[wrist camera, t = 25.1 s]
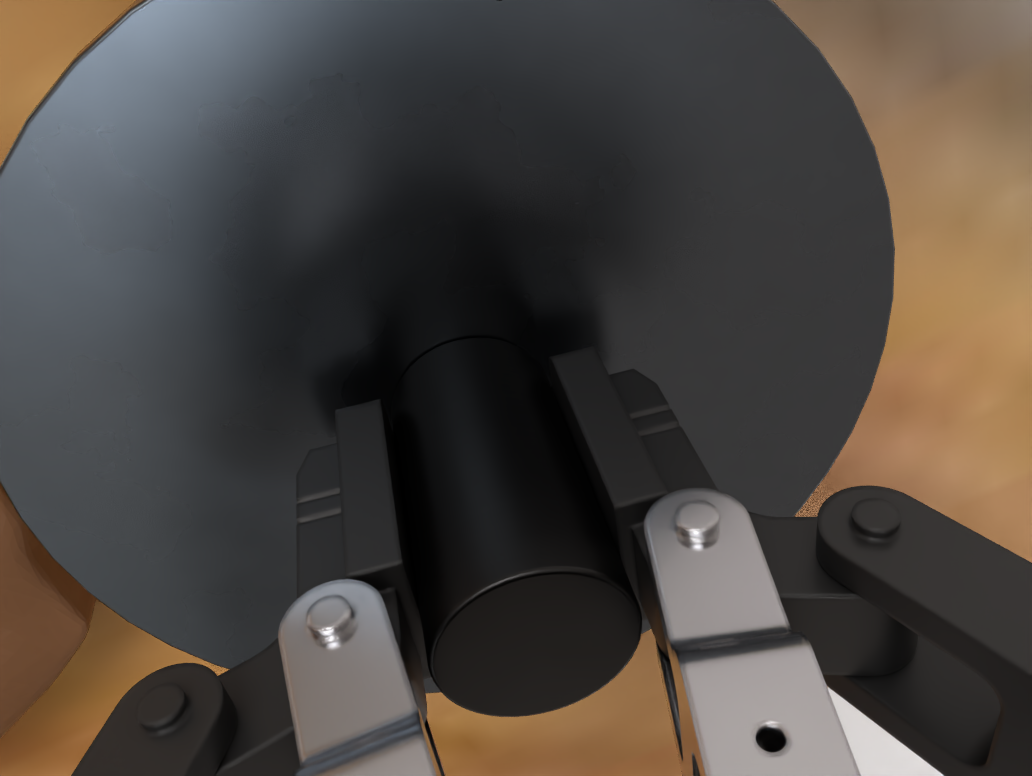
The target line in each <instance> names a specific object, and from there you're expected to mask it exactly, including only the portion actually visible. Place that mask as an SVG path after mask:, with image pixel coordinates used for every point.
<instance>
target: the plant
mask: <svg viewBox="0 0 1032 776" xmlns="http://www.w3.org/2000/svg"><path fill="white" fill-rule="evenodd" d="M95 601H96V598H95V597H94V596H92V595H91V594H90V593H88V592H87V591H86V590H85V589H84V588H83V587H82V586H81V585H80V584H79V583H78V582H77V581H76V580H75V579H74V578H73V577H72V576H70V575H69V574H68V573H67V572H66V571H65V570H64V569H63V568H62V567H61V566H60V565H59V564H58V563H57V562H56V561H55V560H54V559H53V558H52V557H51V556H50V555H49V554H48V552H47V551H46V550H45V548H44V547H43V546H42V545H41V543H40V542H39V541H38V540H37V538H36V537H35V536H34V535H33V533H32V532H31V531H30V529H29V528H28V527H27V526H26V524H25V523H24V522H23V521H22V519H21V518H20V517H19V515H18V513H17V511H16V510H15V508H14V506H13V504H12V503H11V501H10V499H9V497H8V496H7V494H6V492H5V490H4V489H3V487H2V485H1V483H0V738H1V737H2V736H3V735H4V734H5V733H6V732H7V731H8V730H9V729H10V728H11V727H12V726H13V725H14V724H15V723H16V722H17V721H18V720H19V719H20V718H21V717H22V715H23V714H24V713H25V712H26V711H27V710H28V709H29V708H30V707H31V706H32V705H33V704H34V703H35V702H36V701H37V700H38V699H39V698H40V697H41V696H42V695H43V694H44V693H45V691H46V690H47V689H48V688H49V687H50V686H51V684H52V683H53V682H54V681H55V680H56V678H57V677H58V676H59V675H60V673H61V672H62V671H63V669H64V668H65V666H66V665H67V663H68V662H69V661H70V659H71V658H72V656H73V655H74V653H75V652H76V651H77V649H78V648H79V647H80V645H81V643H82V642H83V640H84V639H85V637H86V635H87V632H88V630H89V626H90V622H91V618H92V613H93V609H94V605H95Z"/></svg>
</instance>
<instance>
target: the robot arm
mask: <svg viewBox="0 0 1032 776" xmlns="http://www.w3.org/2000/svg"><path fill="white" fill-rule="evenodd" d="M549 369H550V375H551V381H552V387H553V393H554V396H555V399H556V401H557V404H558V406H559V409H560V411H561V414H562V416H563V419H564V421H565V423H566V426H567V428H568V431H569V433H570V436H571V438H572V441H573V443H574V446H575V448H576V451H577V453H578V456H579V458H580V460H581V463H582V465H583V468H584V470H585V473H586V475H587V478H588V480H589V483H590V485H591V488H592V490H593V492H594V495H595V497H596V500H597V502H598V505H599V507H600V510H601V512H602V515H603V517H604V520H605V522H606V525H607V527H608V529H609V532H610V534H611V537H612V539H613V542H614V544H615V547H616V549H617V552H618V554H619V557H620V559H621V561H622V564H623V566H624V569H625V571H626V574H627V576H628V579H629V581H630V584H631V586H632V589H633V591H634V593H635V596H636V598H637V601H638V603H639V606H640V609H641V614H642V621H643V620H646V619H648V622H649V624H650V627H651V629H652V631H653V634H654V636H655V639H656V647H657V657H658V664H659V668H660V673H661V678H662V683H663V687H664V692H665V697H666V701H667V706H668V711H669V715H670V720H671V725H672V729H673V734H674V739H675V744H676V748H677V753H678V758H679V762H680V767H681V772H682V776H861V774H860V772H859V769H858V767H857V764H856V761H855V759H854V756H853V753H852V751H851V748H850V746H849V743H848V740H847V738H846V735H845V732H844V730H843V727H842V725H841V722H840V719H839V717H838V714H837V712H836V709H835V706H834V704H833V701H832V698H831V696H830V693H829V691H828V688H827V686H828V687H829V688H830V689H831V690H833V691H834V692H835V693H837V694H838V695H839V696H840V697H842V698H843V699H844V700H846V701H847V702H848V703H850V704H851V705H852V706H854V707H855V708H856V709H858V710H859V711H860V712H861V713H863V714H864V715H865V716H867V717H868V718H869V719H871V720H872V721H873V722H875V723H876V724H877V725H878V726H880V727H881V728H882V729H884V730H885V731H886V732H888V733H889V734H890V735H892V736H893V737H894V738H896V739H897V740H898V741H899V742H901V743H902V744H903V745H905V746H906V747H907V748H909V749H910V750H911V751H913V752H914V753H915V754H916V755H918V756H919V757H920V758H922V759H923V760H924V761H926V762H927V763H928V764H930V765H931V766H932V767H933V768H935V769H936V770H937V771H939V772H940V773H941V774H943V775H944V776H1032V563H1031V562H1029V561H1027V560H1026V559H1024V558H1022V557H1020V556H1018V555H1016V554H1015V553H1013V552H1011V551H1009V550H1007V549H1005V548H1004V547H1002V546H1000V545H998V544H996V543H994V542H993V541H991V540H989V539H987V538H985V537H983V536H982V535H980V534H978V533H976V532H974V531H972V530H971V529H969V528H967V527H965V526H963V525H962V524H960V523H958V522H956V521H954V520H952V519H951V518H949V517H947V516H945V515H943V514H941V513H940V512H938V511H936V510H934V509H932V508H930V507H929V506H927V505H925V504H923V503H921V502H919V501H918V500H916V499H914V498H912V497H910V496H908V495H906V494H904V493H902V492H899V491H896V490H893V489H890V488H885V487H880V486H856V487H851V488H847V489H843V490H841V491H839V492H836V493H835V494H833V495H832V496H830V497H829V498H828V499H827V500H826V501H825V502H824V503H823V504H822V506H821V507H820V510H819V512H818V517H771V516H765V515H759V514H756V513H752V512H749V511H747V510H746V509H745V507H744V506H743V505H742V504H741V503H740V502H739V501H738V500H736V499H735V498H733V497H732V496H730V495H728V494H726V493H723V492H721V491H719V490H718V489H717V487H716V486H715V484H714V482H713V480H712V479H711V477H710V475H709V473H708V472H707V470H706V468H705V467H704V465H703V463H702V461H701V460H700V458H699V456H698V454H697V453H696V451H695V449H694V447H693V446H692V444H691V442H690V440H689V439H688V437H687V435H686V433H685V432H684V430H683V428H682V426H681V427H680V425H679V421H678V419H677V418H676V416H675V414H674V413H673V411H672V409H670V407H669V404H668V402H667V400H666V399H665V397H664V395H663V393H662V392H661V390H660V388H659V386H658V385H657V384H656V383H655V382H653V381H652V380H650V379H649V378H647V377H646V376H644V375H643V374H641V373H640V372H638V371H637V370H635V369H630V370H626V371H622V372H618V373H614V374H610V375H609V374H608V372H607V370H606V368H605V366H604V364H603V362H602V360H601V358H600V356H599V354H598V352H597V350H596V349H595V347H594V346H592V347H588V348H584V349H580V350H576V351H572V352H568V353H564V354H560V355H556V356H552V357H549ZM335 421H336V437H337V443H334V444H330V445H326V446H322V447H318V448H314V449H310V450H309V452H308V454H307V455H306V457H305V459H304V461H303V463H302V465H301V467H300V469H299V471H298V472H297V474H296V500H297V504H296V520H297V525H296V545H297V599H296V601H295V602H294V603H293V604H292V605H291V606H290V607H289V609H288V610H287V611H286V613H285V615H284V616H283V618H282V620H281V623H280V626H279V631H278V638H276V639H275V640H274V641H273V642H272V643H271V644H270V645H269V646H268V647H266V648H265V649H264V650H263V651H261V652H260V653H258V654H256V655H255V656H253V657H252V658H250V659H248V660H246V661H244V662H243V663H241V664H239V665H237V666H235V667H233V668H232V669H230V670H228V671H226V672H224V673H223V674H221V675H219V676H217V675H216V674H215V672H213V671H212V670H211V669H210V668H208V667H206V666H203V665H200V664H196V663H181V664H175V665H171V666H167V667H165V668H162V669H159V670H157V671H155V672H153V673H151V674H150V675H148V676H146V677H145V678H143V679H142V680H140V681H139V682H138V683H137V684H135V685H134V686H133V687H132V688H131V689H130V690H129V691H128V692H127V693H126V694H125V695H124V696H123V697H122V699H121V700H120V701H119V703H118V704H117V706H116V707H115V709H114V710H113V712H112V713H111V715H110V716H109V718H108V719H107V721H106V723H105V724H104V726H103V727H102V729H101V730H100V732H99V733H98V735H97V736H96V738H95V740H94V741H93V743H92V744H91V746H90V747H89V749H88V750H87V752H86V753H85V755H84V757H83V758H82V760H81V761H80V763H79V764H78V766H77V767H76V769H75V770H74V772H73V774H72V775H71V776H446V774H445V770H444V767H443V764H442V761H441V758H440V755H439V752H438V749H437V746H436V743H435V739H434V736H433V733H432V730H431V727H430V724H429V721H428V719H427V702H426V695H425V688H424V681H423V679H426V678H430V677H431V675H430V672H429V668H428V663H427V656H426V649H425V643H424V636H423V629H422V622H421V616H420V609H419V602H418V595H417V588H416V582H415V575H414V568H413V561H412V555H411V548H410V541H409V534H408V528H407V521H406V514H405V507H404V501H403V494H402V487H401V480H400V474H399V467H398V460H397V453H396V446H395V440H394V434H393V431H392V428H391V425H390V422H389V418H388V415H387V412H386V409H385V406H384V403H383V401H382V399H378V400H374V401H370V402H366V403H362V404H358V405H354V406H350V407H346V408H342V409H338V410H336V411H335Z"/></svg>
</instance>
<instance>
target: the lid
mask: <svg viewBox="0 0 1032 776" xmlns="http://www.w3.org/2000/svg"><path fill="white" fill-rule="evenodd" d="M894 255H895V247H894V239H893V230H892V221H891V213H890V204H889V197H888V194H887V190H886V186H885V183H884V179H883V176H882V172H881V168H880V165H879V161H878V158H877V154H876V151H875V147H874V144H873V142H872V140H871V138H870V136H869V134H868V132H867V129H866V127H865V125H864V123H863V121H862V119H861V116H860V114H859V112H858V110H857V108H856V106H855V103H854V101H853V99H852V97H851V95H850V94H849V92H848V91H847V89H846V88H845V86H844V85H843V84H842V82H841V81H840V79H839V78H838V76H837V75H836V73H835V72H834V70H833V69H832V67H831V66H830V65H829V63H828V62H827V60H826V59H825V57H824V56H823V54H822V53H821V51H820V50H819V48H818V47H817V46H816V45H815V44H814V43H813V42H812V41H811V40H810V39H809V38H808V37H807V36H806V35H805V34H804V33H803V32H802V31H801V30H800V29H799V28H798V27H797V25H796V24H795V23H794V22H793V21H792V20H791V19H790V18H789V17H788V16H787V15H786V14H785V13H784V12H783V11H782V10H781V9H780V8H779V7H778V6H777V5H776V4H775V3H774V2H773V1H771V0H136V1H135V2H134V3H132V4H131V5H130V6H129V7H128V8H127V9H126V10H125V11H124V12H123V13H122V14H120V15H119V16H118V17H117V18H116V19H115V20H114V21H113V22H112V23H111V24H109V25H108V26H107V27H106V28H105V29H104V30H103V31H102V32H101V33H100V34H99V35H97V36H96V37H95V38H94V39H93V40H92V41H91V42H90V43H89V44H88V45H87V46H85V47H84V48H83V49H82V50H81V51H80V52H79V53H78V54H77V55H76V57H75V58H74V59H73V60H72V62H71V63H70V64H69V66H68V67H67V68H66V69H65V71H64V72H63V73H62V74H61V76H60V77H59V78H58V79H57V81H56V82H55V83H54V84H53V86H52V87H51V88H50V90H49V91H48V92H47V93H46V95H45V96H44V97H43V98H42V100H41V101H40V102H39V103H38V105H37V106H36V107H35V109H34V110H33V111H32V113H31V114H30V115H29V117H28V118H27V120H26V121H25V123H24V125H23V127H22V129H21V130H20V132H19V134H18V136H17V138H16V140H15V141H14V143H13V145H12V147H11V149H10V151H9V152H8V154H7V156H6V158H5V160H4V161H3V163H2V165H1V167H0V483H1V485H2V487H3V489H4V490H5V492H6V494H7V496H8V497H9V499H10V501H11V503H12V504H13V506H14V508H15V510H16V511H17V513H18V515H19V517H20V518H21V519H22V521H23V522H24V523H25V524H26V526H27V527H28V528H29V529H30V531H31V532H32V533H33V535H34V536H35V537H36V538H37V540H38V541H39V542H40V543H41V545H42V546H43V547H44V548H45V550H46V551H47V552H48V554H49V555H50V556H51V557H52V558H53V559H54V560H55V561H56V562H57V563H58V564H59V565H60V566H61V567H62V568H63V569H64V570H65V571H66V572H67V573H68V574H69V575H70V576H72V577H73V578H74V579H75V580H76V581H77V582H78V583H79V584H80V585H81V586H82V587H83V588H84V589H85V590H86V591H87V592H88V593H90V594H91V595H92V596H94V597H95V598H96V599H98V600H99V601H101V602H102V603H103V604H105V605H106V606H107V607H109V608H110V609H111V610H113V611H114V612H115V613H117V614H118V615H120V616H121V617H122V618H124V619H125V620H126V621H128V622H129V623H131V624H133V625H135V626H136V627H138V628H140V629H142V630H144V631H145V632H147V633H149V634H151V635H152V636H154V637H156V638H158V639H159V640H161V641H163V642H165V643H166V644H168V645H170V646H172V647H175V648H177V649H179V650H182V651H184V652H186V653H189V654H191V655H193V656H196V657H198V658H200V659H203V660H205V661H207V662H210V663H212V664H214V665H217V666H220V667H224V668H227V669H232V668H233V667H235V666H237V665H239V664H241V663H243V662H244V661H246V660H248V659H250V658H252V657H253V656H255V655H256V654H258V653H260V652H261V651H263V650H264V649H265V648H266V647H268V646H269V645H270V644H271V643H272V642H273V641H274V640H275V639H276V638H278V631H279V626H280V623H281V620H282V618H283V616H284V615H285V613H286V611H287V610H288V609H289V607H290V606H291V605H292V604H293V603H294V602H295V601H296V599H297V545H296V525H297V520H296V504H297V500H296V474H297V472H298V471H299V469H300V467H301V465H302V463H303V461H304V459H305V457H306V455H307V454H308V452H309V450H310V449H314V448H318V447H322V446H326V445H330V444H334V443H337V437H336V421H335V411H336V410H338V409H342V408H346V407H350V406H354V405H358V404H362V403H366V402H370V401H374V400H378V399H382V401H383V403H384V406H385V409H386V412H387V415H388V418H389V422H390V425H391V428H392V431H393V434H394V440H395V446H396V453H397V460H398V467H399V474H400V480H401V487H402V494H403V501H404V507H405V514H406V521H407V528H408V534H409V541H410V548H411V555H412V561H413V568H414V575H415V582H416V588H417V595H418V602H419V609H420V616H421V622H422V629H423V636H424V643H425V649H426V656H427V663H428V668H429V672H430V675H431V677H430V678H426V679H423V681H424V688H425V693H437V692H442V693H443V694H444V695H445V696H446V697H447V698H448V699H449V700H451V701H452V702H454V703H455V704H457V705H459V706H461V707H463V708H465V709H467V710H470V711H473V712H476V713H480V714H485V715H490V716H499V717H519V716H530V715H536V714H542V713H546V712H550V711H554V710H557V709H560V708H563V707H566V706H568V705H571V704H573V703H576V702H578V701H580V700H582V699H584V698H586V697H588V696H590V695H591V694H593V693H595V692H596V691H598V690H600V689H601V688H602V687H604V686H605V685H606V684H608V683H609V682H610V681H611V680H612V679H613V678H615V677H616V676H617V675H618V674H619V673H620V672H621V671H622V670H623V668H624V667H625V666H626V665H627V663H628V662H629V661H630V659H631V658H632V656H633V654H634V652H635V651H636V649H637V646H638V643H639V641H640V637H641V634H642V633H644V632H646V631H648V630H650V629H651V627H650V624H649V622H648V619H646V620H643V621H642V614H641V609H640V606H639V603H638V601H637V598H636V596H635V593H634V591H633V589H632V586H631V584H630V581H629V579H628V576H627V574H626V571H625V569H624V566H623V564H622V561H621V559H620V557H619V554H618V552H617V549H616V547H615V544H614V542H613V539H612V537H611V534H610V532H609V529H608V527H607V525H606V522H605V520H604V517H603V515H602V512H601V510H600V507H599V505H598V502H597V500H596V497H595V495H594V492H593V490H592V488H591V485H590V483H589V480H588V478H587V475H586V473H585V470H584V468H583V465H582V463H581V460H580V458H579V456H578V453H577V451H576V448H575V446H574V443H573V441H572V438H571V436H570V433H569V431H568V428H567V426H566V423H565V421H564V419H563V416H562V414H561V411H560V409H559V406H558V404H557V401H556V399H555V396H554V393H553V387H552V381H551V375H550V369H549V357H552V356H556V355H560V354H564V353H568V352H572V351H576V350H580V349H584V348H588V347H592V346H594V347H595V349H596V350H597V352H598V354H599V356H600V358H601V360H602V362H603V364H604V366H605V368H606V370H607V372H608V374H609V375H610V374H614V373H618V372H622V371H626V370H630V369H635V370H637V371H638V372H640V373H641V374H643V375H644V376H646V377H647V378H649V379H650V380H652V381H653V382H655V383H656V384H657V385H658V386H659V388H660V390H661V392H662V393H663V395H664V397H665V399H666V400H667V402H668V404H669V407H670V409H672V411H673V413H674V414H675V416H676V418H677V419H678V421H679V425H680V427H681V426H682V428H683V430H684V432H685V433H686V435H687V437H688V439H689V440H690V442H691V444H692V446H693V447H694V449H695V451H696V453H697V454H698V456H699V458H700V460H701V461H702V463H703V465H704V467H705V468H706V470H707V472H708V473H709V475H710V477H711V479H712V480H713V482H714V484H715V486H716V487H717V489H718V490H719V491H721V492H723V493H726V494H728V495H730V496H732V497H733V498H735V499H736V500H738V501H739V502H740V503H741V504H742V505H743V506H744V507H745V509H746V510H747V511H749V512H752V513H756V514H759V515H765V516H771V517H794V516H795V514H796V513H797V512H798V511H799V510H800V509H801V508H802V506H803V505H804V504H805V502H806V501H807V500H808V498H809V497H810V496H811V494H812V493H813V492H814V490H815V489H816V488H817V486H818V485H819V484H820V482H821V481H822V480H823V478H824V477H825V476H826V474H827V473H828V472H829V470H830V468H831V467H832V465H833V463H834V462H835V460H836V458H837V457H838V455H839V453H840V452H841V450H842V448H843V446H844V445H845V443H846V441H847V440H848V438H849V436H850V435H851V433H852V431H853V429H854V427H855V424H856V422H857V420H858V418H859V415H860V413H861V411H862V409H863V407H864V404H865V402H866V400H867V398H868V396H869V393H870V391H871V388H872V385H873V382H874V379H875V375H876V372H877V369H878V366H879V363H880V359H881V356H882V353H883V350H884V347H885V342H886V336H887V330H888V325H889V319H890V313H891V307H892V301H893V286H894Z"/></svg>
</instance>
